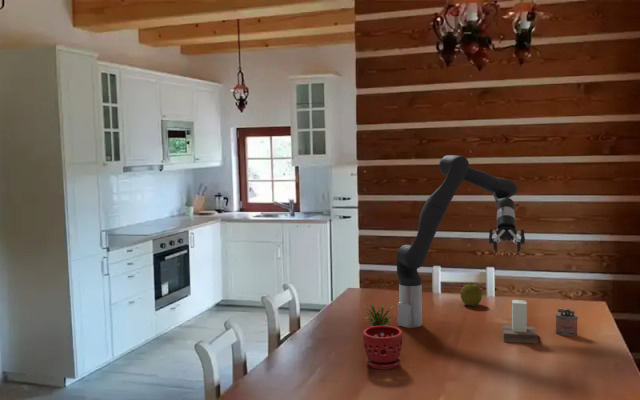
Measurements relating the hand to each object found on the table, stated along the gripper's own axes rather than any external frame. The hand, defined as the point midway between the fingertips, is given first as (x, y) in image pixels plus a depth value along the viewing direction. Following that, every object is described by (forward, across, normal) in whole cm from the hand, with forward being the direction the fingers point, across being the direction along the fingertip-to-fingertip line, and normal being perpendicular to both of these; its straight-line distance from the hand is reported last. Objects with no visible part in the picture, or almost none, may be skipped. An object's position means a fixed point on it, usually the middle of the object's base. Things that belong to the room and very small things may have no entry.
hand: (507, 251), depth 250 cm
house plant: (+48, -49, -4) cm, 68 cm away
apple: (+1, -14, +43) cm, 45 cm away
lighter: (+28, +22, +15) cm, 39 cm away
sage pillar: (+32, +4, +7) cm, 33 cm away
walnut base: (+34, +4, +9) cm, 35 cm away
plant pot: (+63, -43, -19) cm, 78 cm away
